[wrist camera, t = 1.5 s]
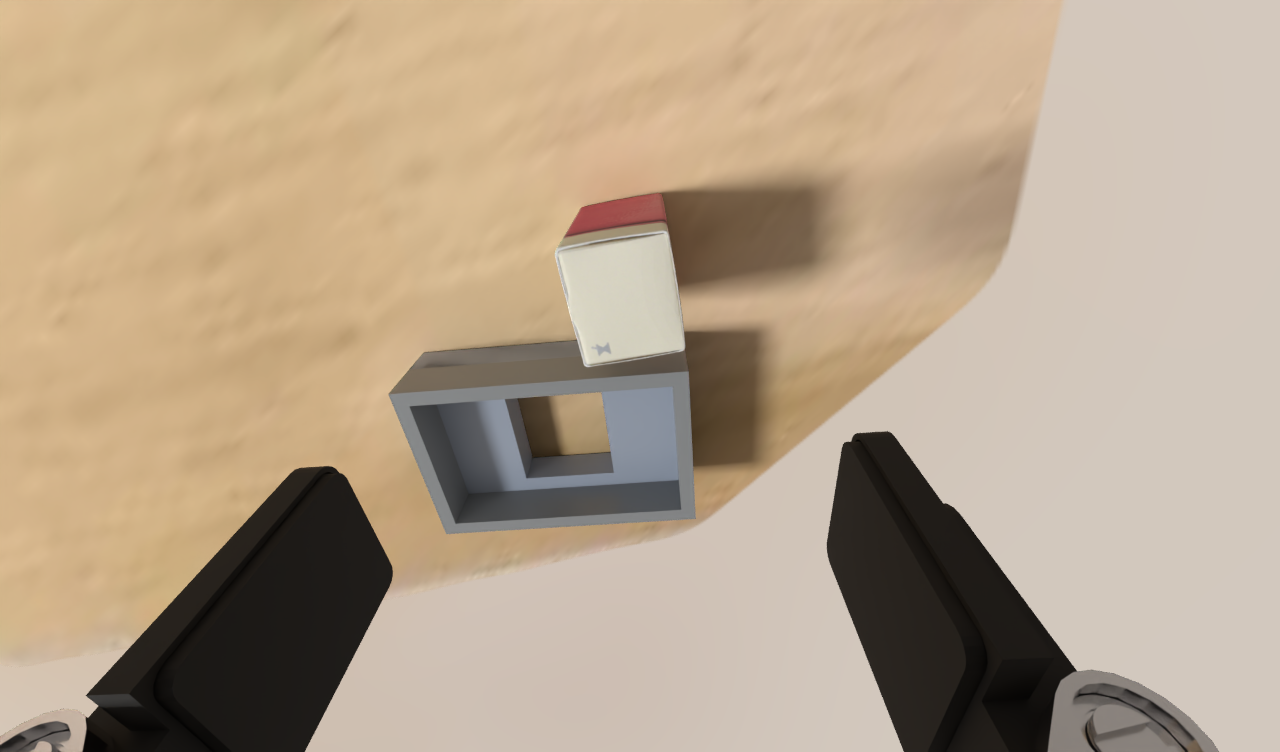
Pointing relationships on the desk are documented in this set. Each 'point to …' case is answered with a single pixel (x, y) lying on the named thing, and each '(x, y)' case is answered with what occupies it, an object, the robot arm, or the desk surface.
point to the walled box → (558, 485)
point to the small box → (621, 281)
